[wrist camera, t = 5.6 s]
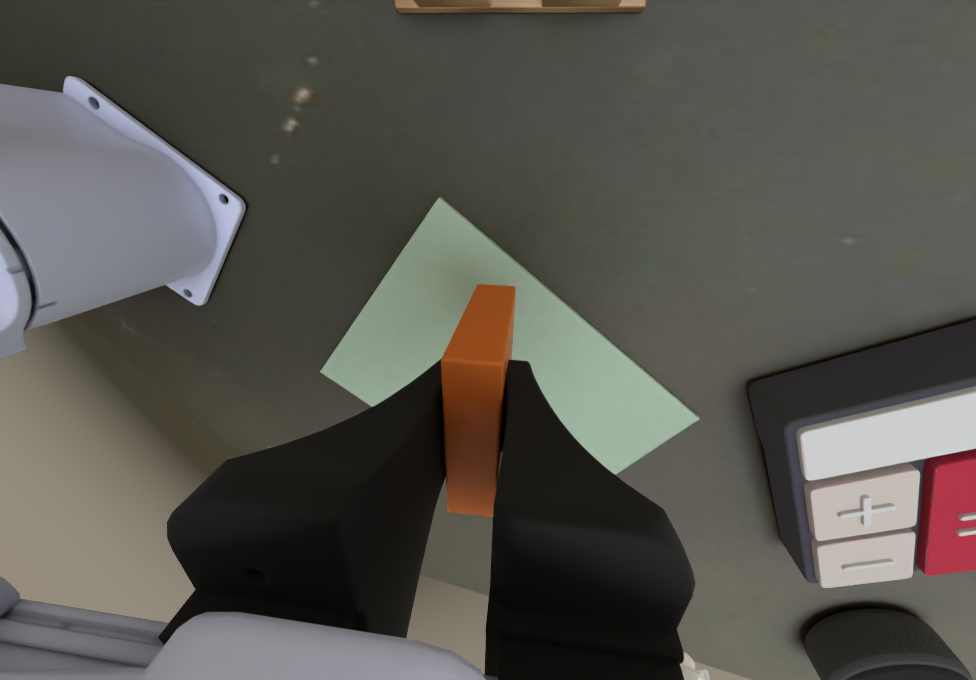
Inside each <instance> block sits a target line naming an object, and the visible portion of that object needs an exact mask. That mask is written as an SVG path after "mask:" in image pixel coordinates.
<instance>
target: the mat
mask: <svg viewBox="0 0 976 680" xmlns="http://www.w3.org/2000/svg"><path fill="white" fill-rule="evenodd" d="M477 284H487V285H504V286H515V287H516V295H515V312H514V329H513V346H512V360H521V361H528V362H529V363H530V364H531V368H532V371H533V374H534V376H535V379H536V381H537V383H538V385H539V387H540V389H541V391H542V392H543V394H544V396H545V398H546V399H547V401H548V403H549V404H550V406H551V407H552V409H553V410H554V412H555V413H556V415H557V416H558V418H559V419H560V420H561V422H562V423H563V424H564V426H565V427H566V428H567V429H568V430H569V432H570V433H571V434H572V435H573V436H574V438H575V439H576V440H577V441H578V442H579V443H580V444H581V445H582V446H583V447H584V448H585V449H586V450H587V451H588V452H589V453H590V454H591V455H592V456H593V457H594V458H596V459H597V460H598V461H599V462H600V463H601V464H602V465H603V466H604V467H606V468H607V469H608V470H609V471H611V472H612V473H613V474H614V475H616V474H617V473H619V472H620V471H622V470H623V469H625V468H626V467H628V466H629V465H631V464H632V463H634V462H635V461H637V460H638V459H640V458H641V457H643V456H644V455H646V454H647V453H649V452H650V451H652V450H653V449H655V448H656V447H658V446H659V445H661V444H662V443H664V442H665V441H667V440H669V439H670V438H672V437H673V436H675V435H676V434H678V433H679V432H681V431H682V430H684V429H685V428H687V427H688V426H690V425H691V424H693V423H694V422H696V421H697V420H699V417H698V415H697V414H695V413H694V412H693V411H692V410H691V409H690V408H688V407H687V406H686V405H685V404H684V403H683V402H681V401H680V400H679V399H678V398H677V397H675V396H674V395H673V394H672V393H671V392H670V391H668V390H667V389H666V388H665V387H664V386H663V385H661V384H660V383H659V382H658V381H657V380H655V379H654V378H653V377H652V376H651V375H650V374H648V373H647V372H646V371H645V370H644V369H643V368H641V367H640V366H639V365H638V364H637V363H636V362H634V361H633V360H632V359H631V358H630V357H628V356H627V355H626V354H625V353H624V352H623V351H621V350H620V349H619V348H618V347H617V346H616V345H614V344H613V343H612V342H611V341H610V340H608V339H607V338H606V337H605V336H604V335H603V334H601V333H600V332H599V331H598V330H597V329H596V328H594V327H593V326H592V325H591V324H590V323H589V322H587V321H586V320H585V319H584V318H583V317H581V316H580V315H579V314H578V313H577V312H576V311H574V310H573V309H572V308H571V307H570V306H569V305H567V304H566V303H565V302H564V301H563V300H561V299H560V298H559V297H558V296H557V295H556V294H554V293H553V292H552V291H551V290H550V289H549V288H547V287H546V286H545V285H544V284H543V283H542V282H540V281H539V280H538V279H537V278H536V277H534V276H533V275H532V274H531V273H530V272H529V271H527V270H526V269H525V268H524V267H523V266H522V265H520V264H519V263H518V262H517V261H516V260H514V259H513V258H512V257H511V256H510V255H509V254H507V253H506V252H505V251H504V250H503V249H502V248H500V247H499V246H498V245H497V244H496V243H494V242H493V241H492V240H491V239H490V238H489V237H487V236H486V235H485V234H484V233H483V232H482V231H480V230H479V229H478V228H477V227H476V226H475V225H473V224H472V223H471V222H470V221H469V220H467V219H466V218H465V217H464V216H463V215H462V214H460V213H459V212H458V211H457V210H456V209H455V208H453V207H452V206H451V205H450V204H449V203H447V202H446V201H445V200H444V199H443V198H442V197H439V198H438V199H437V201H436V202H435V203H434V205H433V206H432V208H431V209H430V211H429V212H428V214H427V215H426V217H425V218H424V220H423V221H422V223H421V224H420V225H419V227H418V228H417V230H416V231H415V233H414V234H413V236H412V237H411V239H410V240H409V242H408V243H407V245H406V246H405V247H404V249H403V250H402V252H401V253H400V255H399V256H398V258H397V259H396V261H395V262H394V264H393V265H392V267H391V268H390V269H389V271H388V272H387V274H386V275H385V277H384V278H383V280H382V281H381V283H380V284H379V286H378V287H377V289H376V290H375V291H374V293H373V294H372V296H371V297H370V299H369V300H368V302H367V303H366V305H365V306H364V308H363V309H362V311H361V312H360V313H359V315H358V316H357V318H356V319H355V321H354V322H353V324H352V325H351V327H350V328H349V330H348V331H347V333H346V334H345V335H344V337H343V338H342V340H341V341H340V343H339V344H338V346H337V347H336V349H335V350H334V352H333V353H332V355H331V356H330V358H329V359H328V360H327V362H326V363H325V365H324V366H323V368H322V369H321V371H320V372H321V373H323V374H324V375H326V376H327V377H328V378H330V379H331V380H333V381H334V382H336V383H337V384H339V385H340V386H342V387H343V388H345V389H346V390H348V391H349V392H351V393H352V394H354V395H355V396H357V397H358V398H360V399H361V400H363V401H364V402H366V403H367V404H369V405H370V406H371V407H373V406H375V405H377V404H378V403H380V402H382V401H383V400H385V399H387V398H388V397H390V396H391V395H393V394H394V393H396V392H397V391H399V390H400V389H402V388H403V387H405V386H406V385H408V384H409V383H411V382H412V381H413V380H415V379H416V378H417V377H418V376H420V375H421V374H422V373H424V372H425V371H426V370H428V369H429V368H430V367H431V366H433V365H434V364H435V363H436V362H438V361H439V360H440V359H441V358H442V357H443V355H444V352H445V350H446V348H447V346H448V344H449V342H450V340H451V338H452V336H453V334H454V332H455V330H456V328H457V325H458V323H459V321H460V319H461V317H462V315H463V313H464V311H465V309H466V307H467V305H468V303H469V301H470V298H471V296H472V294H473V292H474V290H475V288H476V286H477Z"/></svg>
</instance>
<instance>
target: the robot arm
mask: <svg viewBox="0 0 976 680" xmlns="http://www.w3.org/2000/svg"><path fill="white" fill-rule="evenodd" d="M97 101H98V103H99V106H98V104H97ZM225 195H226V196H227V198H228V202H227V201H226V200H225ZM245 210H246V206H245V203H244V201H243V200H242V199H241V198H240V197H239V196H238V195H236V194H235V193H234V192H232V191H231V190H230V189H228V188H227V187H226V186H224V185H223V184H222V183H220V182H219V181H218V180H216V179H215V178H214V177H212V176H211V175H210V174H208V173H207V172H206V171H204V170H203V169H202V168H200V167H199V166H198V165H196V164H195V163H194V162H192V161H191V160H190V159H188V158H187V157H186V156H184V155H183V154H182V153H180V152H179V151H178V150H176V149H175V148H174V147H172V146H171V145H170V144H168V143H167V142H166V141H164V140H163V139H162V138H160V137H159V136H158V135H156V134H155V133H154V132H152V131H151V130H149V129H148V128H147V127H145V126H144V125H143V124H141V123H140V122H139V121H137V120H136V119H135V118H133V117H132V116H131V115H129V114H128V113H127V112H125V111H124V110H123V109H121V108H120V107H119V106H117V105H116V104H115V103H113V102H112V101H111V100H109V99H108V98H107V97H105V96H104V95H103V94H101V93H100V92H99V91H97V90H96V89H95V88H93V87H92V86H91V85H89V84H88V83H87V82H85V81H84V80H82V79H80V78H77V77H72V76H68V77H66V79H65V81H64V88H63V93H60V92H54V91H47V90H40V89H33V88H26V87H19V86H12V85H5V84H0V359H2V358H5V357H8V356H10V355H13V354H16V353H19V352H21V351H24V350H26V349H27V345H26V342H25V340H24V334H23V333H24V332H25V331H28V330H31V329H34V328H37V327H40V326H43V325H46V324H49V323H52V322H55V321H58V320H61V319H64V318H67V317H70V316H73V315H76V314H79V313H82V312H85V311H88V310H91V309H94V308H97V307H100V306H103V305H106V304H109V303H112V302H115V301H118V300H121V299H124V298H127V297H130V296H133V295H136V294H139V293H142V292H145V291H148V290H151V289H154V288H157V287H160V286H163V285H166V286H168V287H169V288H171V289H172V290H174V291H175V292H177V293H178V294H180V295H181V296H183V297H184V298H186V299H187V300H189V301H190V302H192V303H193V304H195V305H199V306H200V305H203V304H205V303H206V302H207V301H208V299H209V296H210V294H211V291H212V289H213V287H214V284H215V282H216V280H217V277H218V275H219V272H220V270H221V268H222V265H223V263H224V261H225V258H226V256H227V253H228V251H229V249H230V246H231V244H232V242H233V239H234V237H235V234H236V232H237V230H238V227H239V225H240V222H241V220H242V218H243V215H244V213H245ZM190 292H191V293H190ZM441 359H442V358H441ZM441 359H440V360H439V361H438V362H436V363H435V364H434V365H433V366H431V367H430V368H429V369H428V370H426V371H425V372H424V373H422V374H421V375H420V376H418V377H417V378H416V379H415V380H413V381H412V382H411V383H409V384H408V385H406V386H405V387H403V388H402V389H400V390H399V391H397V392H396V393H394V394H393V395H391V396H390V397H388V398H387V399H385V400H383V401H382V402H380V403H378V404H377V405H375V406H373V407H371V408H369V409H367V410H366V411H364V412H362V413H360V414H358V415H356V416H354V417H352V418H349V419H347V420H345V421H343V422H340V423H338V424H336V425H334V426H331V427H329V428H327V429H325V430H322V431H319V432H317V433H314V434H312V435H309V436H306V437H303V438H300V439H298V440H295V441H292V442H289V443H286V444H283V445H279V446H276V447H273V448H269V449H266V450H262V451H258V452H255V453H251V454H248V455H244V456H240V457H237V458H232V459H228V460H226V461H225V462H224V463H223V464H222V465H221V466H220V467H219V468H218V469H217V470H216V471H215V472H214V473H213V474H212V475H211V476H209V477H208V478H207V479H206V480H205V481H204V482H203V483H202V484H201V485H200V486H199V487H198V488H197V489H196V490H195V491H194V492H193V493H192V494H191V495H190V496H189V497H188V498H187V499H186V500H185V501H184V502H183V503H181V504H180V505H179V506H178V507H177V508H176V509H175V510H174V511H173V512H172V514H171V516H170V518H169V520H168V522H167V538H168V541H169V543H170V545H171V548H172V550H173V552H174V553H175V555H176V557H177V559H178V560H179V562H180V564H181V565H182V567H183V569H184V571H185V572H186V574H187V576H188V577H189V579H190V581H191V582H192V584H193V586H194V587H195V589H196V590H195V591H194V592H193V594H192V595H191V596H190V597H189V599H188V600H187V601H186V603H185V604H184V605H183V606H182V607H181V609H180V610H179V611H178V612H177V614H176V615H175V616H174V618H173V619H172V620H171V621H170V623H165V622H159V621H153V620H147V619H141V618H135V617H128V616H122V615H116V614H110V613H104V612H98V611H92V610H86V609H79V608H73V607H67V606H61V605H54V604H48V603H43V602H36V601H30V600H25V599H20V594H19V593H18V592H17V590H16V589H15V588H14V587H13V586H12V585H11V584H10V583H9V582H8V581H6V580H5V579H4V578H2V577H0V680H684V677H683V673H682V670H681V666H680V663H681V664H682V663H683V661H684V652H683V649H682V646H681V642H680V639H679V636H678V632H677V627H678V625H679V623H680V621H681V619H682V617H683V615H684V613H685V611H686V609H687V606H688V604H689V602H690V600H691V598H692V596H693V592H694V587H695V580H694V575H693V571H692V568H691V565H690V563H689V560H688V558H687V555H686V552H685V550H684V548H683V546H682V544H681V541H680V539H679V537H678V535H677V533H676V532H675V530H674V528H673V526H672V524H671V522H670V520H669V518H668V517H667V515H666V513H665V511H664V509H662V508H661V507H659V506H658V505H657V504H655V503H654V502H652V501H651V500H649V499H648V498H646V497H645V496H643V495H642V494H640V493H639V492H637V491H636V490H634V489H633V488H632V487H630V486H629V485H627V484H626V483H625V482H623V481H622V480H621V479H619V478H618V477H617V476H616V475H614V474H613V473H612V472H611V471H609V470H608V469H607V468H606V467H604V466H603V465H602V464H601V463H600V462H599V461H598V460H597V459H596V458H594V457H593V456H592V455H591V454H590V453H589V452H588V451H587V450H586V449H585V448H584V447H583V446H582V445H581V444H580V443H579V442H578V441H577V440H576V439H575V438H574V436H573V435H572V434H571V433H570V432H569V430H568V429H567V428H566V427H565V426H564V424H563V423H562V422H561V420H560V419H559V418H558V416H557V415H556V413H555V412H554V410H553V409H552V407H551V406H550V404H549V403H548V401H547V399H546V398H545V396H544V394H543V392H542V391H541V389H540V387H539V385H538V383H537V381H536V379H535V376H534V374H533V371H532V368H531V364H530V363H529V362H528V361H521V360H509V362H508V367H507V372H506V388H505V407H504V426H503V445H502V458H501V465H500V471H499V477H498V483H497V489H496V495H495V500H494V509H493V533H492V557H491V580H490V593H489V603H488V613H487V622H486V653H485V675H483V674H482V673H481V671H480V669H478V668H477V667H475V666H474V665H472V664H471V663H469V662H468V661H466V660H465V659H463V658H462V657H460V656H459V655H457V654H456V653H454V652H453V651H450V650H447V649H444V648H440V647H436V646H433V645H430V644H427V643H423V642H420V641H416V640H413V639H407V638H406V636H407V631H408V626H409V622H410V617H411V612H412V607H413V602H414V598H415V593H416V588H417V584H418V579H419V575H420V570H421V566H422V561H423V557H424V553H425V548H426V544H427V539H428V535H429V531H430V527H431V523H432V519H433V514H434V510H435V507H436V503H437V500H438V497H439V494H440V491H441V488H442V485H443V482H444V479H445V476H446V467H445V444H444V421H443V397H442V374H441Z"/></svg>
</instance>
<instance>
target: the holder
mask: <svg viewBox="0 0 976 680" xmlns="http://www.w3.org/2000/svg"><path fill="white" fill-rule="evenodd" d="M645 6H646V0H395V8H396V9H397V10H398V11H399V12H400V13H582V12H642V10H643V9H644V8H645Z"/></svg>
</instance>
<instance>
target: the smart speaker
mask: <svg viewBox="0 0 976 680" xmlns="http://www.w3.org/2000/svg"><path fill="white" fill-rule="evenodd" d="M805 650H806V653H807V655H808V657H809V659H810V661H811V663H812V664H813V666H814V668H815V670H816V672H817V673H818V675H819V677H820V679H821V680H972V678H971V675H970V673H969V671H968V670H967V668H966V667H965V666H964V665H963V663H962V662H961V661H960V660H959V659H958V657H957V656H956V655H955V654H954V653H953V652H952V650H951V649H950V648H949V647H948V646H947V645H946V643H945V642H944V641H943V640H942V639H941V637H940V636H939V635H938V634H937V633H936V632H935V631H934V630H933V629H932V628H931V627H930V626H929V625H927V624H926V623H925V622H923V621H921V620H920V619H918V618H916V617H913V616H911V615H908V614H905V613H902V612H898V611H894V610H887V609H875V608H873V609H856V610H850V611H845V612H841V613H838V614H834V615H832V616H829V617H827V618H825V619H823V620H821V621H819V622H818V623H817V624H815V625H814V626H813V627H812V628H811V629H810V630H809V632H808V634H807V636H806V639H805Z"/></svg>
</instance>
